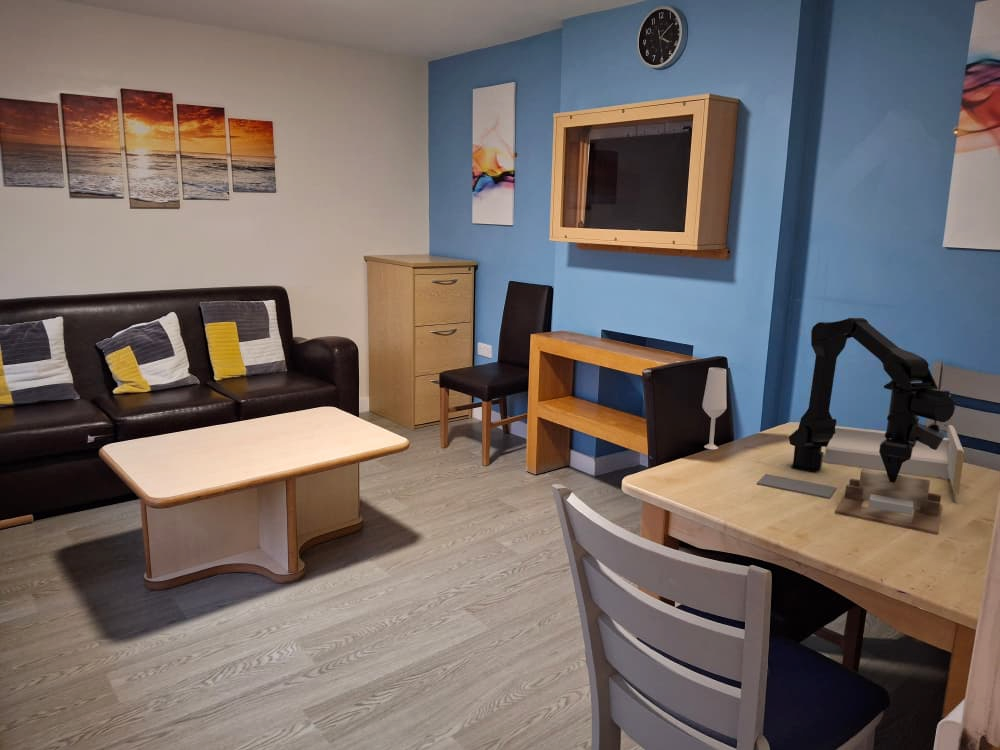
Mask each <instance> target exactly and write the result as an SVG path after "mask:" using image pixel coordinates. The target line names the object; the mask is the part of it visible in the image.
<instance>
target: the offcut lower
mask: <svg viewBox="0 0 1000 750" xmlns="http://www.w3.org/2000/svg"><path fill="white" fill-rule="evenodd" d="M860 514H865V515H870V516H875V517H879V518H884V519H889V520H894V521H899V522H904V523H909V524H912V520H913V516H914V509H913V511H912V515H908V514H903V513H897V512H892V511H886V510H880V509H875V508H869V500H864V501H863V503H862V505H861V512H860Z"/></svg>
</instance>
